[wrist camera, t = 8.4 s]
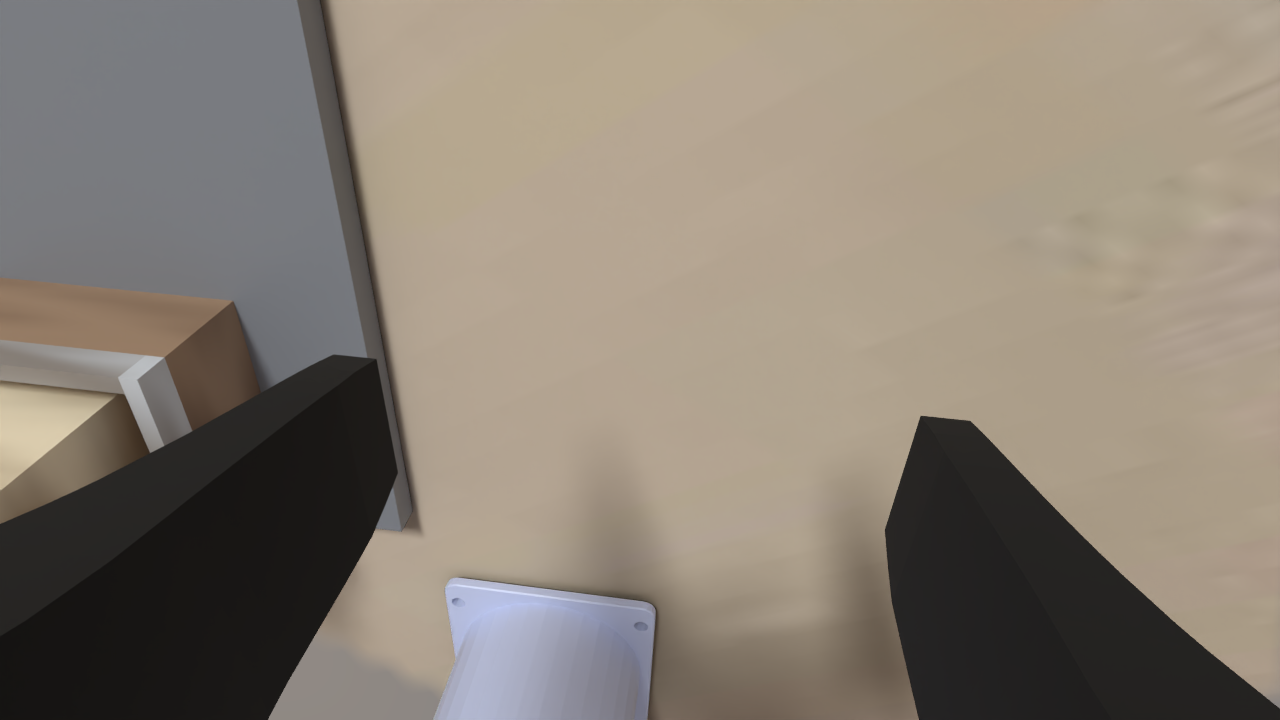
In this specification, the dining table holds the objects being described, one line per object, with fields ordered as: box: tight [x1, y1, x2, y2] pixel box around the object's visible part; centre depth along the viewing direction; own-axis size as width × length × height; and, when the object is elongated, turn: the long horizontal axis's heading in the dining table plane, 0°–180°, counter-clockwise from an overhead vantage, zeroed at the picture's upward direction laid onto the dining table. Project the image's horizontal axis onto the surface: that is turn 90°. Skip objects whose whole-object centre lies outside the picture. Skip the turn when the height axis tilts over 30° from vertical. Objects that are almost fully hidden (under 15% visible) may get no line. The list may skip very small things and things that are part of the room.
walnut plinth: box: [0, 278, 261, 453], centre depth 22 cm, size 8×8×4 cm
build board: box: [0, 0, 413, 532], centre depth 22 cm, size 18×12×1 cm, turn 177°
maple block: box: [0, 380, 150, 524], centre depth 19 cm, size 4×4×5 cm
